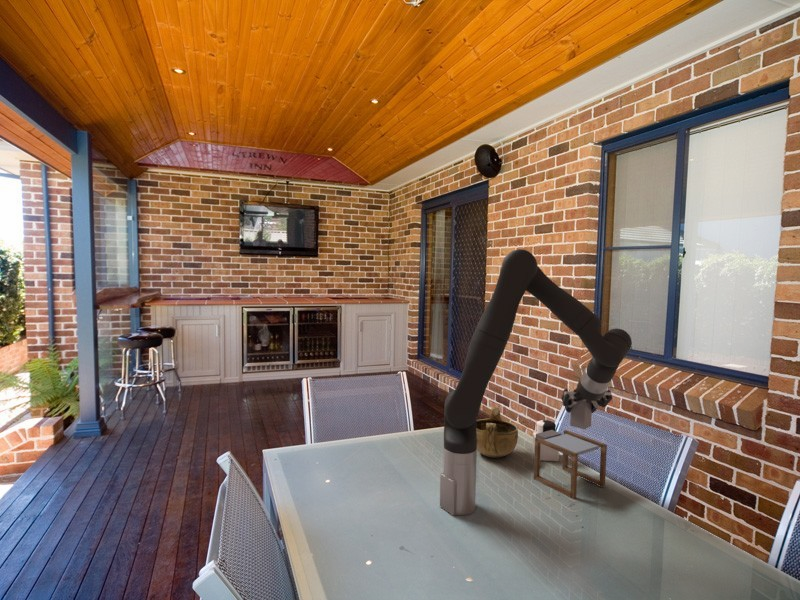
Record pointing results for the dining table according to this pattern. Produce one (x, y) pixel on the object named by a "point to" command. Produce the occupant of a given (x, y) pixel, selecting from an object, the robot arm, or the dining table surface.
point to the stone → (581, 415)
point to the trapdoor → (567, 442)
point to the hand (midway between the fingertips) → (579, 410)
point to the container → (545, 451)
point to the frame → (573, 465)
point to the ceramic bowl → (496, 435)
